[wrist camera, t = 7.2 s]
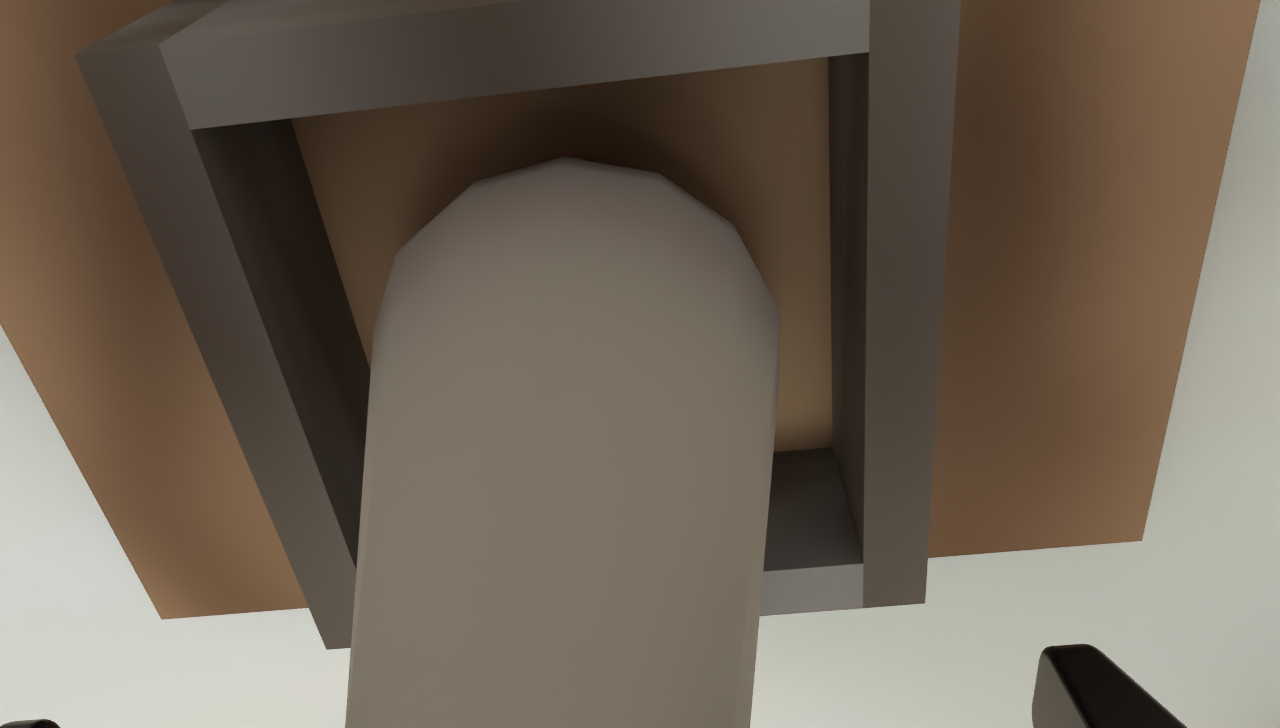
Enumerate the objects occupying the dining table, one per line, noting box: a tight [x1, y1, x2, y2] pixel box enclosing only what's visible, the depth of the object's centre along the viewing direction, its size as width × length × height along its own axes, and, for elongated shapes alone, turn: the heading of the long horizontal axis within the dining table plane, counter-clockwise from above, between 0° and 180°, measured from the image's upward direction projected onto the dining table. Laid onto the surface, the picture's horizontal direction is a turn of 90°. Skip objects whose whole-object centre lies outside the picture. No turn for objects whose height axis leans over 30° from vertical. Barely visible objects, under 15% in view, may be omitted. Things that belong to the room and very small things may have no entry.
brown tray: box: [0, 0, 1260, 649], centre depth 15 cm, size 20×14×4 cm
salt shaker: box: [345, 157, 781, 728], centre depth 11 cm, size 6×6×13 cm
